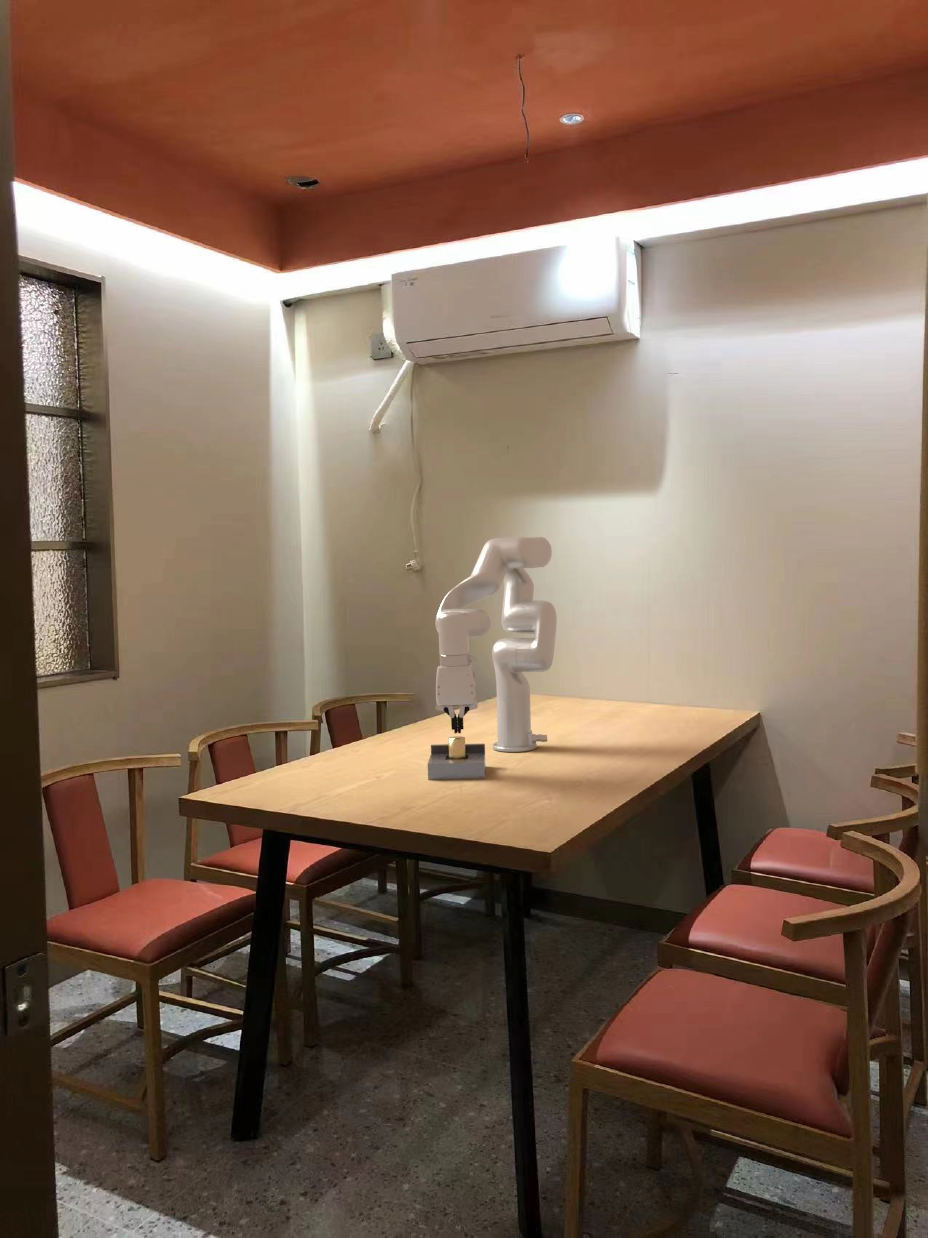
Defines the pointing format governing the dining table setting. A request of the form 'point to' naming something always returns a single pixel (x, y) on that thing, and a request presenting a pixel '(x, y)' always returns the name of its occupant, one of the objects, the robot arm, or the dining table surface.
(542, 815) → the dining table surface
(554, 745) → the dining table surface
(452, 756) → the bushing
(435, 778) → the jig
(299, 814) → the dining table surface
